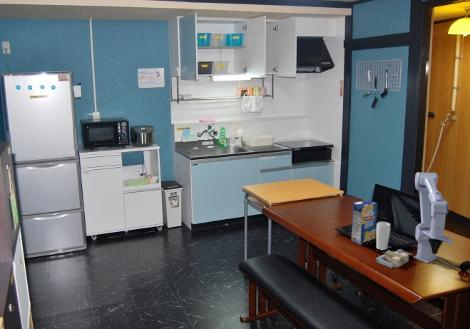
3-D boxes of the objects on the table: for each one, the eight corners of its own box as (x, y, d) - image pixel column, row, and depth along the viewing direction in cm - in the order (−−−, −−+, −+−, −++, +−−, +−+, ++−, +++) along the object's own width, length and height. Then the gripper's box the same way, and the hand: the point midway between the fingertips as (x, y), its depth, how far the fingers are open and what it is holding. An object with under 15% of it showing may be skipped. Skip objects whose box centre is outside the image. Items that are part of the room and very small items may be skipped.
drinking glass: (385, 247, 239) (387, 221, 235) (390, 253, 232) (392, 226, 229) (373, 248, 239) (374, 221, 235) (377, 253, 232) (379, 226, 229)
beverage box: (351, 240, 248) (353, 203, 243) (365, 236, 254) (368, 199, 248) (360, 245, 243) (362, 206, 237) (374, 240, 248) (377, 203, 243)
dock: (392, 253, 232) (392, 250, 231) (408, 260, 225) (408, 256, 224) (375, 261, 223) (375, 258, 223) (391, 268, 216) (392, 264, 216)
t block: (392, 255, 230) (392, 248, 229) (407, 261, 223) (408, 254, 222) (380, 261, 224) (380, 253, 223) (396, 267, 217) (396, 260, 216)
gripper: (418, 223, 210) (415, 250, 214) (448, 233, 199) (445, 261, 202) (426, 220, 215) (423, 246, 218) (456, 229, 203) (453, 256, 207)
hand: (434, 253), depth 210 cm, fingers closed
